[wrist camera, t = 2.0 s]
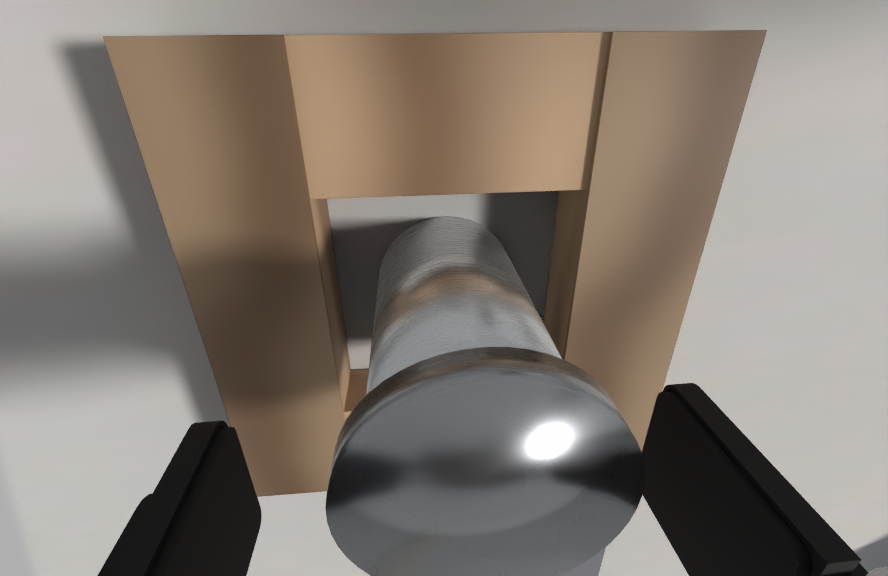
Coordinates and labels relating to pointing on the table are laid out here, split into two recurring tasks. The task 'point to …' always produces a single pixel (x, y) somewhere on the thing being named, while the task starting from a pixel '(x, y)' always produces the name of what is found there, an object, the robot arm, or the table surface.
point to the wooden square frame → (427, 193)
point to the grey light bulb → (474, 426)
